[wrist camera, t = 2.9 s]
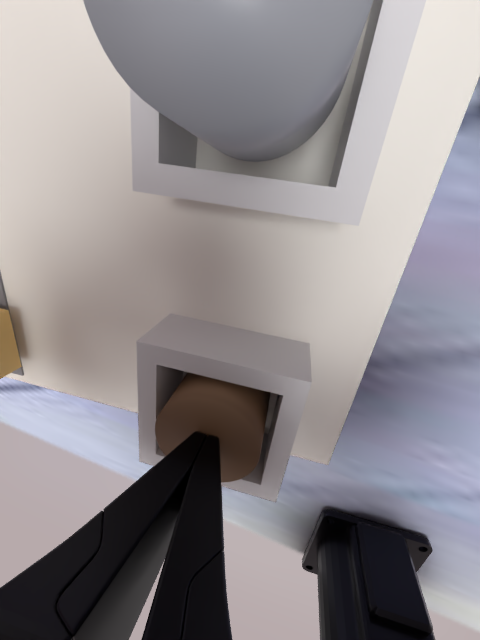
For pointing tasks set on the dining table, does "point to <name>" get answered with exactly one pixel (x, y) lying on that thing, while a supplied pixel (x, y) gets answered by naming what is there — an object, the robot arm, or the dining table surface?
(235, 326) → the control panel
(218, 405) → the walnut button
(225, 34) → the grey button
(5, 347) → the tan wooden brick
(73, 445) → the dining table surface
